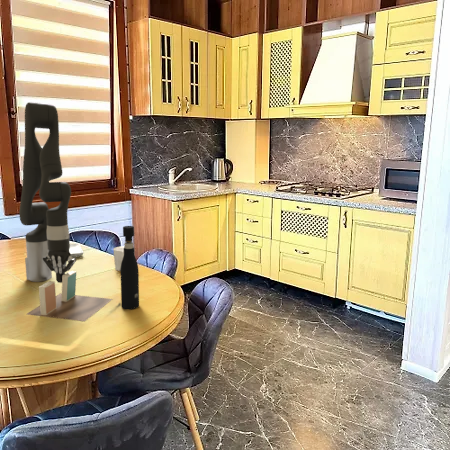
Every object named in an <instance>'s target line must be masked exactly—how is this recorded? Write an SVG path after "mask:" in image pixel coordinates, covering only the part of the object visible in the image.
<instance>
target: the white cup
mask: <svg viewBox="0 0 450 450" xmlns="http://www.w3.org/2000/svg"><path fill="white" fill-rule="evenodd" d="M124 246H125V245H123V246H117V247H114V248H113V259H114V267H115V268H114V269H115V271H117V272H120V269H121V263H122V259H123V256H124V248H125V247H124Z"/></svg>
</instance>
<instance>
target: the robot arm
mask: <svg viewBox="0 0 450 450" xmlns="http://www.w3.org/2000/svg"><path fill="white" fill-rule="evenodd" d="M59 126H60V125H59V113H58V109H57V107H56V106H55V105H54V104H50V103H43V102H42V103H41V102H34V101H29V102H27V103H26V105H25V107H24V151H23V154H24V155H23V163H22V190H21V197H20V203H19V215H18V216H19V221H20V223H21V225H23V226H35V225H37V226H36V228H34V229H32V230H31V231H29V232H27V233H26V234H25V246H26V257H25V259H24V260H25V261H24V263H25V276H26V280H28V281H30V282H36V283H37V282H44V281H45V282H46V281H49V280H50V279H52V278H53V274H52V272H54V273H55V279H56V281H57V283H60V284H62V275H64V274H66V273H68V272H70V271H71V269H72V268H73V266H74V265H75V263H76V262H77V257H75V258H72V257H71V254H70V252H69V249H70V244H71V243H70V230H69V224H68V223H69V222H68V209H69V203H70V201H71V195H72V188H71V186H70V184H69V183H68V182H67V181H53V180H57V179H59V178H61V177H62V176H63V167H62V162H61V161H62V160H61V154H60V131H59V130H60V129H59V128H60V127H59ZM36 129H46V130H49V135H48V138H47V139H46V142H45V143H44V144H43V146H41V144H40V143H39V141H38V138H37V136H36ZM37 192H38V194H39V199H41V201H39V202H33V201H34V198H35V196H36V194H37ZM57 202H60V203H59V204H58V205H57V206H56V207H51V208H49V206H48V204H47V203H57Z"/></svg>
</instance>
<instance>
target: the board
mask: <svg viewBox="0 0 450 450" xmlns="http://www.w3.org/2000/svg"><path fill="white" fill-rule="evenodd" d="M61 296H62V292H61V293H58V294H57V295H56V309H55V310H53V311H52V312H50V313H49V314H47V315H41V311H40V305H39V306H37V307H35V308H33V309H32V310H30V311H29V312H27V313H26V315H30V316H37V317H44V318H51V319H53V318H54V319H60V320H61V319H63V320H69V321H77V322H86V321H87V320H88V319H90V318H91V317H92V316H94V315H95V314H97V312H99V311H100V310H101V309H102V308H104V307H106V305H107V304H108V303H110V302H111V301H113V299H112V298H107V297H106V298H105V297H97V296H89V295H88V296H87V295H78V294H75V297H73V298H72V299H70V300H68V301H67V302H64V301H61Z"/></svg>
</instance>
